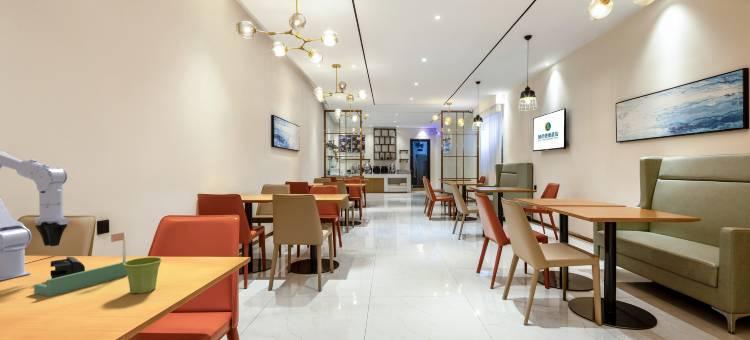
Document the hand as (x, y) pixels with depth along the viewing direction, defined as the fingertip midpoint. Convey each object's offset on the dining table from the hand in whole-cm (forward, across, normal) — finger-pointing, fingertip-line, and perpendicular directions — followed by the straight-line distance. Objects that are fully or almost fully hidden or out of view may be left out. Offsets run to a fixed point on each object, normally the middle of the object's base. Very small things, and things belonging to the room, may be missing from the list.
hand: (51, 245), depth 117 cm
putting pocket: (+11, +18, 0) cm, 21 cm away
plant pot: (+11, +42, +1) cm, 43 cm away
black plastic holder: (+11, +8, 0) cm, 14 cm away
